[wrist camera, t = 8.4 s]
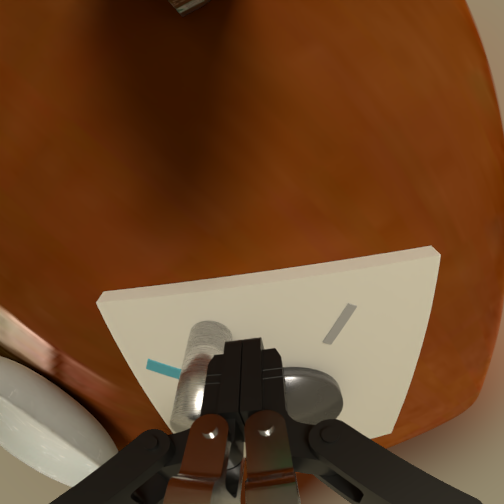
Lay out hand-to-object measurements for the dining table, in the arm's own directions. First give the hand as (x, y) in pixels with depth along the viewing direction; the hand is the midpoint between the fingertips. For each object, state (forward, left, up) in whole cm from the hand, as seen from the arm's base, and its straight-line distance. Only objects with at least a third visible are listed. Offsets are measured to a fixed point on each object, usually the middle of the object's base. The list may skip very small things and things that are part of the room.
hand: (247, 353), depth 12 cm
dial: (0, -7, -4) cm, 8 cm away
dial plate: (+1, -9, -5) cm, 11 cm away
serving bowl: (-24, -12, -6) cm, 27 cm away
